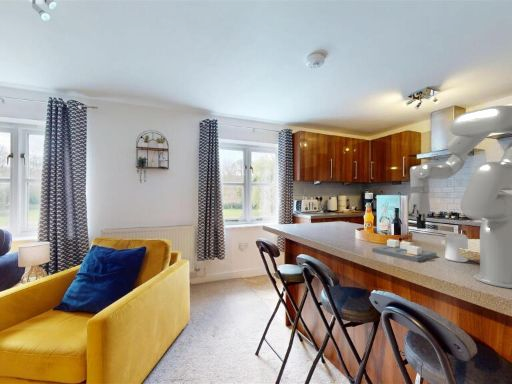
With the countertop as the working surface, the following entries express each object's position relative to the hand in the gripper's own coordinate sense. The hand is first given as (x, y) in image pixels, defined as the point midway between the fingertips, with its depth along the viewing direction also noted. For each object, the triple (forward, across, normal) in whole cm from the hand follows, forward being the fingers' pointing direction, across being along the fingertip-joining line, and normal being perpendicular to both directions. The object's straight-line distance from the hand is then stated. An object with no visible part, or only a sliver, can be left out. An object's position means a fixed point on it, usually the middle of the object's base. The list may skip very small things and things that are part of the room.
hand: (421, 228), depth 117 cm
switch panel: (+14, +2, -8) cm, 16 cm away
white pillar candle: (+14, -8, +11) cm, 19 cm away
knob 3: (+12, +5, -1) cm, 13 cm away
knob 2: (+11, -2, -8) cm, 14 cm away
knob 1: (+11, -2, -15) cm, 19 cm away
